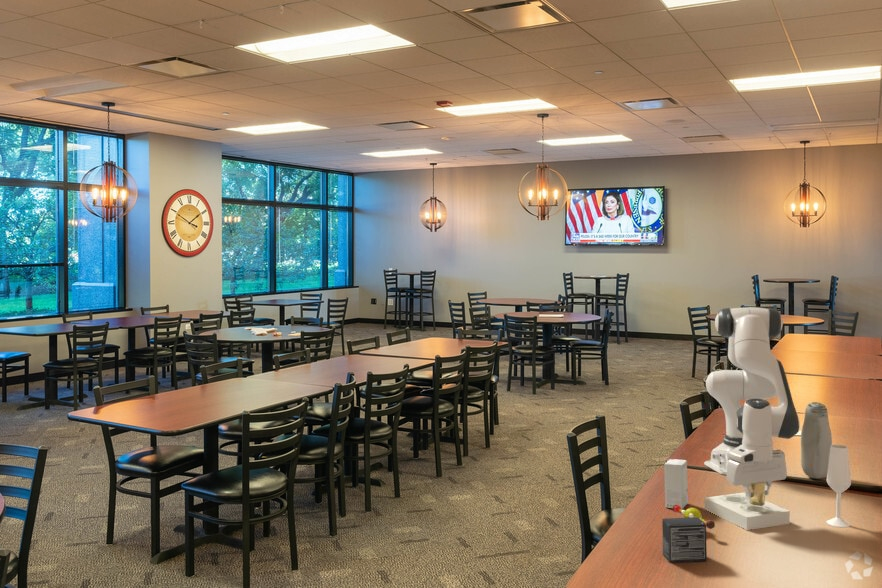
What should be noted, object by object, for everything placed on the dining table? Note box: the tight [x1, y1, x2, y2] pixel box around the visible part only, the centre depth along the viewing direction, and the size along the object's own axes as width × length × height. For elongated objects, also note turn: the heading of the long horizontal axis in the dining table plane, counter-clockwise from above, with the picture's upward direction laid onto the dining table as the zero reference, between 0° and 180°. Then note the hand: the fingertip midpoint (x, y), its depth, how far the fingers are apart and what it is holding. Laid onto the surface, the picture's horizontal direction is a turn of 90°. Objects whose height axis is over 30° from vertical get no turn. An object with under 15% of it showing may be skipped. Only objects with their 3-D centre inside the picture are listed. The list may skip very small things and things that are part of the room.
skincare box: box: [664, 458, 689, 510], centre depth 255 cm, size 8×6×15 cm
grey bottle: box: [800, 401, 833, 480], centre depth 283 cm, size 10×10×28 cm
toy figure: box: [671, 505, 716, 530], centre depth 233 cm, size 18×6×7 cm, turn 21°
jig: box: [704, 491, 791, 531], centre depth 244 cm, size 20×16×4 cm
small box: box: [661, 517, 708, 564], centre depth 212 cm, size 11×6×10 cm, turn 92°
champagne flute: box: [825, 444, 852, 528], centre depth 236 cm, size 7×7×24 cm
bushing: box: [749, 482, 766, 506], centre depth 239 cm, size 4×4×7 cm
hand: (757, 496), depth 239 cm, fingers closed on bushing, 4 cm apart
